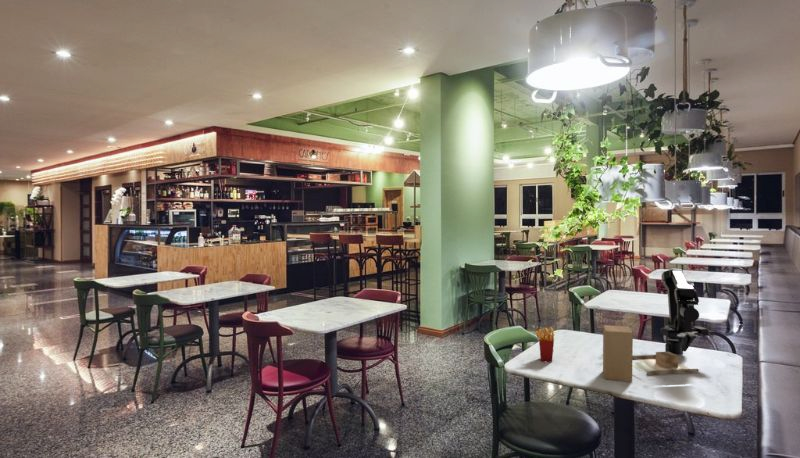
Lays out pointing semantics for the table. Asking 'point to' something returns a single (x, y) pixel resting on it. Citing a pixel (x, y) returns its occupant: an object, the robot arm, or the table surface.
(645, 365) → the trap board
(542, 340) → the french fries
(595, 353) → the table surface
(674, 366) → the walnut block
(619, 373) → the wooden block
